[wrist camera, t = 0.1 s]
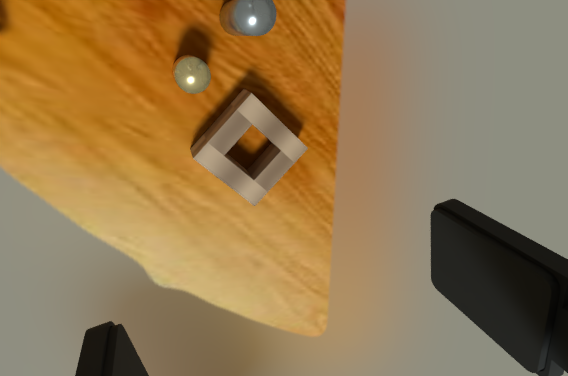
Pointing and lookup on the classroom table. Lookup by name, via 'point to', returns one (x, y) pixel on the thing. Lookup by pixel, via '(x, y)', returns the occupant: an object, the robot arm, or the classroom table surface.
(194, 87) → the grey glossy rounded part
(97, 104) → the classroom table surface
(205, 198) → the classroom table surface
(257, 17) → the long steel pin
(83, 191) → the classroom table surface
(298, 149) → the beige socket block
